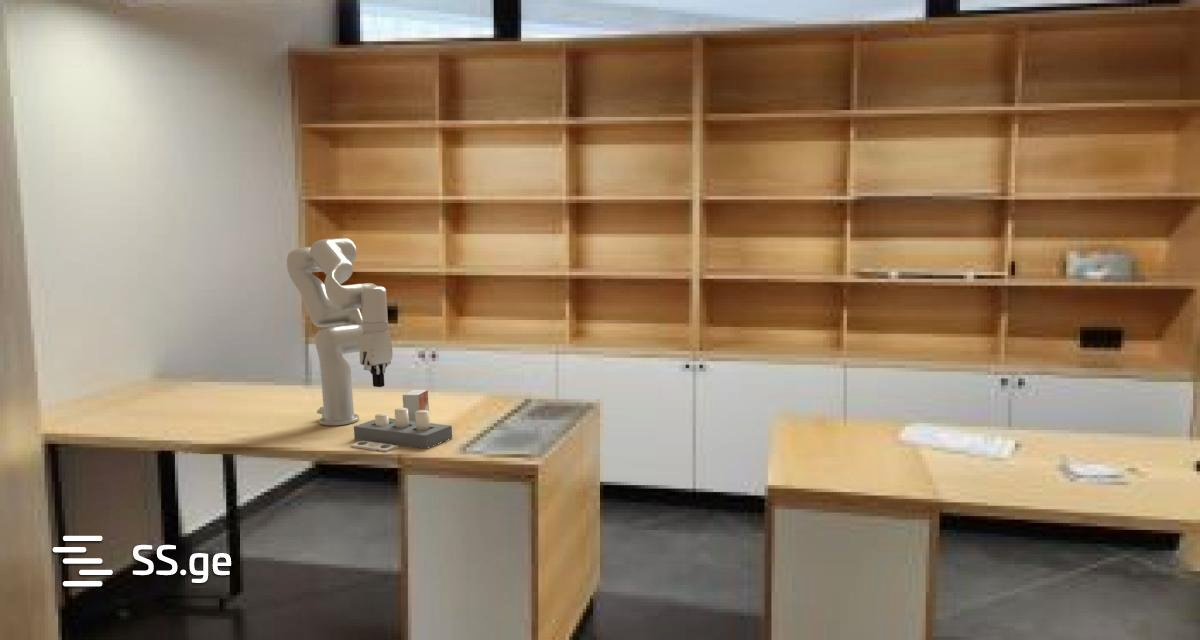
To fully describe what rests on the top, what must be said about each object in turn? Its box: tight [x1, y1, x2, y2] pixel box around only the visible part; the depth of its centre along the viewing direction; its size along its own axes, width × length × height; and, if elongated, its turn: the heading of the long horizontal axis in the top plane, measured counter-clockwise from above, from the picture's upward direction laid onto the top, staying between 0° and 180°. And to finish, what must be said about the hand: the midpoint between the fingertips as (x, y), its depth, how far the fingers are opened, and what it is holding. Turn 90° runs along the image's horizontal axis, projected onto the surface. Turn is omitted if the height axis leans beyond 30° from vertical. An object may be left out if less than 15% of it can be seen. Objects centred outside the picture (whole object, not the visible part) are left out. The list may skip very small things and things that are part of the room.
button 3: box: [415, 410, 431, 431], centre depth 276 cm, size 4×4×7 cm
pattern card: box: [349, 440, 399, 452], centre depth 273 cm, size 14×5×1 cm, turn 61°
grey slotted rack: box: [353, 417, 453, 449], centre depth 281 cm, size 28×12×4 cm, turn 61°
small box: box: [402, 389, 430, 421], centre depth 298 cm, size 8×6×10 cm
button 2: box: [394, 407, 409, 429], centre depth 280 cm, size 4×4×7 cm
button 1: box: [374, 412, 390, 426], centre depth 284 cm, size 4×4×7 cm
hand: (378, 386), depth 283 cm, fingers closed
